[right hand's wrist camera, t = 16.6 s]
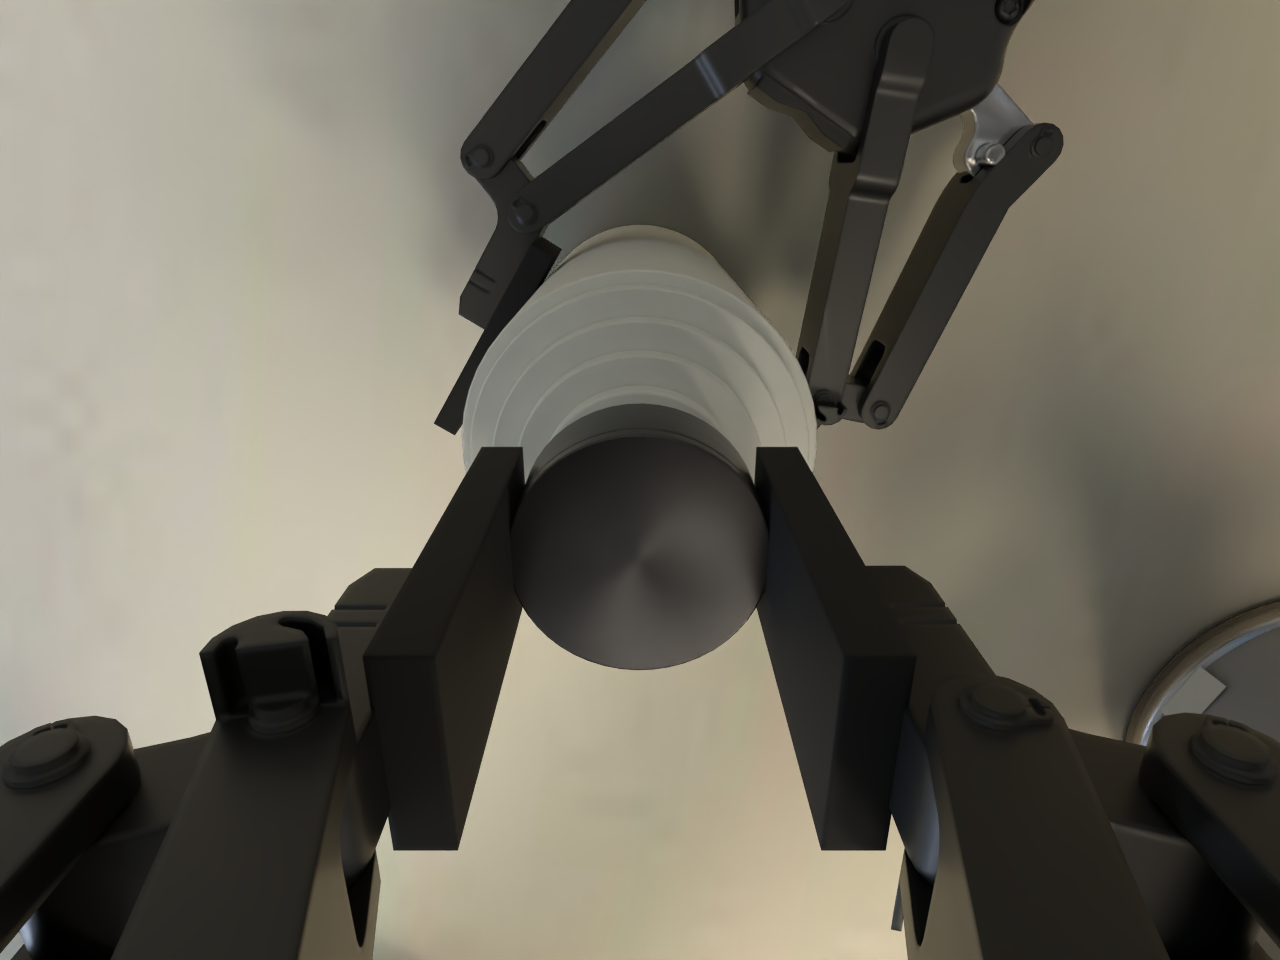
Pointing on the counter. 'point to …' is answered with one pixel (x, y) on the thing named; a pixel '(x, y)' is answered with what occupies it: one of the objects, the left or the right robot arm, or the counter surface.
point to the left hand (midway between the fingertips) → (568, 480)
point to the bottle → (639, 351)
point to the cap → (639, 538)
